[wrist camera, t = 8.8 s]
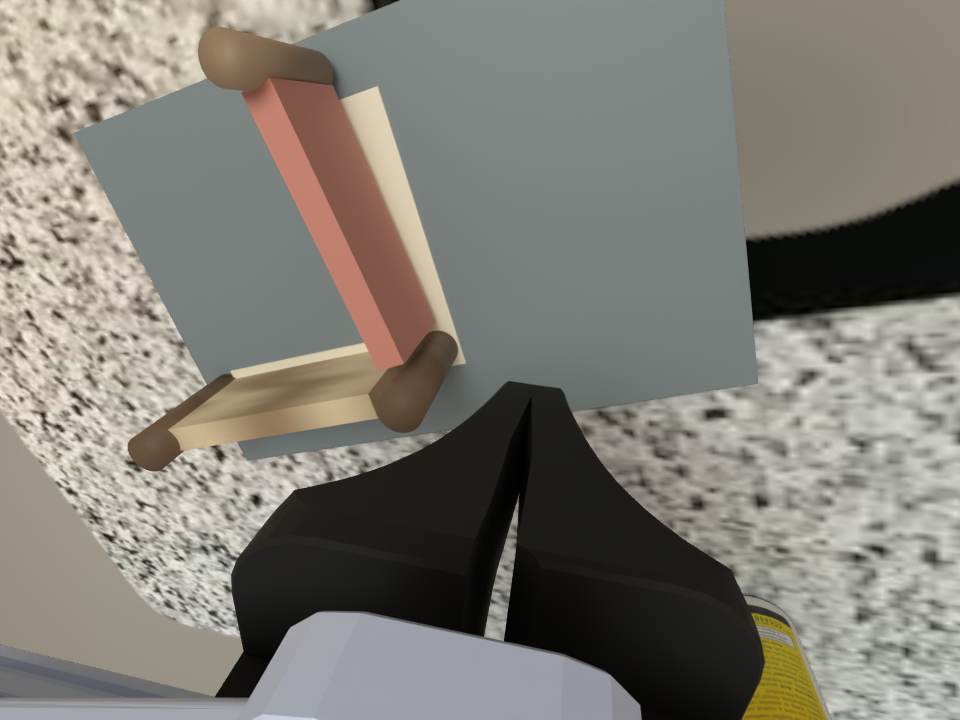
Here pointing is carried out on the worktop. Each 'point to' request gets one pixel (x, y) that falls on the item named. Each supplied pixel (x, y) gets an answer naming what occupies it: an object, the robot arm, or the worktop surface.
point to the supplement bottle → (783, 671)
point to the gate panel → (326, 183)
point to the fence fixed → (300, 401)
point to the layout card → (470, 205)
